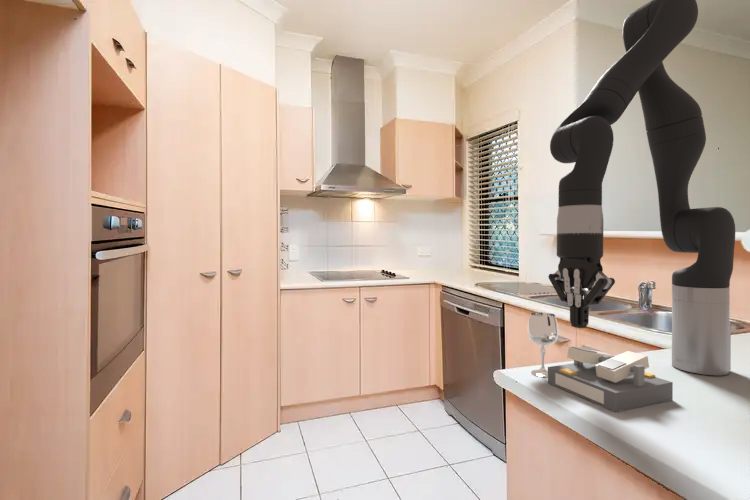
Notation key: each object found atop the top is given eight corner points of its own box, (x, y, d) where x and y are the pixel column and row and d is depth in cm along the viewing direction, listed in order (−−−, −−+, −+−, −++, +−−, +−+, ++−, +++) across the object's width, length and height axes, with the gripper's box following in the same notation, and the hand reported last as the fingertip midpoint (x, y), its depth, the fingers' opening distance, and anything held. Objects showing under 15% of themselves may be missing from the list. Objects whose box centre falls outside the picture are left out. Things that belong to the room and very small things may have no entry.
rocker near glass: (596, 361, 77) (598, 349, 77) (617, 367, 72) (619, 355, 73) (565, 356, 74) (567, 345, 74) (584, 363, 70) (586, 351, 70)
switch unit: (599, 374, 79) (599, 343, 79) (672, 400, 66) (672, 363, 66) (547, 382, 75) (547, 350, 75) (614, 412, 62) (614, 372, 62)
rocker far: (627, 360, 71) (625, 349, 71) (651, 367, 67) (649, 355, 67) (594, 375, 68) (592, 363, 68) (618, 383, 64) (615, 371, 64)
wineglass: (561, 379, 77) (561, 317, 77) (530, 377, 78) (530, 316, 78) (554, 370, 82) (554, 312, 82) (525, 368, 84) (525, 311, 83)
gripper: (628, 230, 67) (628, 333, 67) (566, 233, 79) (565, 319, 80) (595, 230, 64) (594, 336, 65) (536, 232, 77) (536, 321, 77)
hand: (578, 327), depth 72 cm, fingers closed
